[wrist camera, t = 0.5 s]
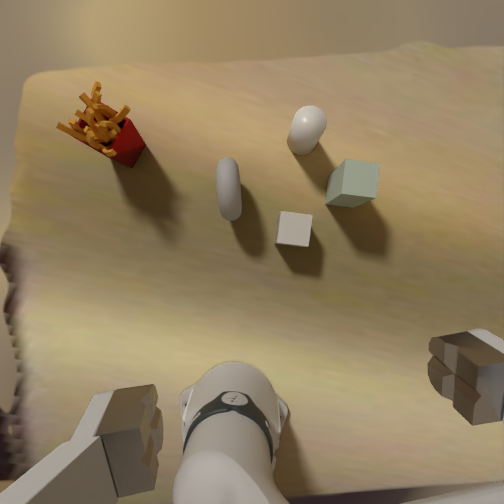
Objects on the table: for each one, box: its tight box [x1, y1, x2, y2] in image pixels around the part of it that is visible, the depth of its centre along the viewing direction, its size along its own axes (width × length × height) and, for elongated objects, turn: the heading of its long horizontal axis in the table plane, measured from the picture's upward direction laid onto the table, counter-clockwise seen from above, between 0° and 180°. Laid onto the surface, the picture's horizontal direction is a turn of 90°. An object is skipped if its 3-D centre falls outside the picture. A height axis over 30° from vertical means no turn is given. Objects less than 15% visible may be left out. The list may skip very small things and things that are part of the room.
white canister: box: [287, 106, 327, 155], centre depth 51 cm, size 5×5×8 cm
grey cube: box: [274, 211, 313, 247], centre depth 52 cm, size 5×5×6 cm
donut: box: [216, 157, 242, 221], centre depth 50 cm, size 10×4×10 cm, turn 4°
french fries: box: [56, 81, 146, 168], centre depth 48 cm, size 9×8×15 cm
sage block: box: [325, 159, 380, 208], centre depth 50 cm, size 5×5×10 cm
